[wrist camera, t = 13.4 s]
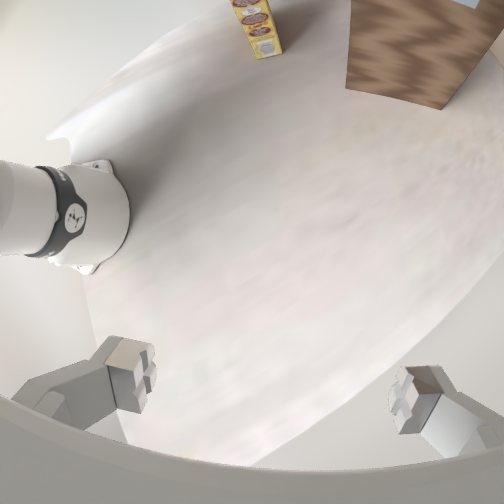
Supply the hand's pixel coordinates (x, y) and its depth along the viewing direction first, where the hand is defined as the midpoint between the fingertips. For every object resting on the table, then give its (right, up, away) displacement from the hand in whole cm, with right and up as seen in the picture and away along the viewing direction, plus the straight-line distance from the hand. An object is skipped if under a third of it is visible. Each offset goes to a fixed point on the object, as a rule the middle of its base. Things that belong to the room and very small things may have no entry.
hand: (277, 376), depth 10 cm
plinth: (+20, +32, +27) cm, 46 cm away
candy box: (+1, +37, +32) cm, 49 cm away
